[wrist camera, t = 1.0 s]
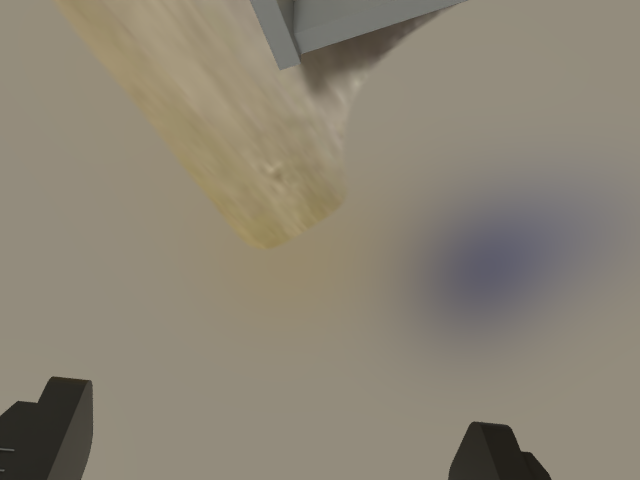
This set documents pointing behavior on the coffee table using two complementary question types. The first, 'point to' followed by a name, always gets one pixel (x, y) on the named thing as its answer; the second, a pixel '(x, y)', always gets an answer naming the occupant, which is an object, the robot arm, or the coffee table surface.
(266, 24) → the box
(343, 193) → the coffee table surface
